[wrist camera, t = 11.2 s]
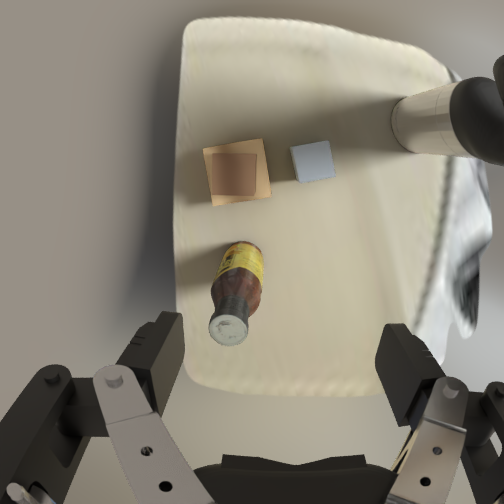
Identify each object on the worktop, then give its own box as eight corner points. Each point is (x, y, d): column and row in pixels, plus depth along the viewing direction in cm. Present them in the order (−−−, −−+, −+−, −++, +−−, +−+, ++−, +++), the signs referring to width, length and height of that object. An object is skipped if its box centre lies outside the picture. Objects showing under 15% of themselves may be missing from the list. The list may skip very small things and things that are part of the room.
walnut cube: (256, 153, 39) (255, 153, 35) (255, 190, 41) (254, 196, 36) (218, 153, 39) (212, 153, 35) (218, 190, 41) (211, 195, 36)
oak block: (262, 139, 43) (262, 138, 39) (271, 192, 46) (271, 197, 41) (209, 148, 44) (202, 148, 39) (218, 200, 47) (212, 206, 42)
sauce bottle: (230, 234, 48) (206, 290, 29) (269, 247, 48) (268, 309, 29) (219, 271, 50) (191, 342, 31) (256, 283, 50) (248, 360, 31)
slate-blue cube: (322, 141, 43) (328, 140, 38) (328, 174, 44) (335, 176, 40) (289, 147, 43) (291, 146, 39) (296, 179, 45) (299, 183, 40)
